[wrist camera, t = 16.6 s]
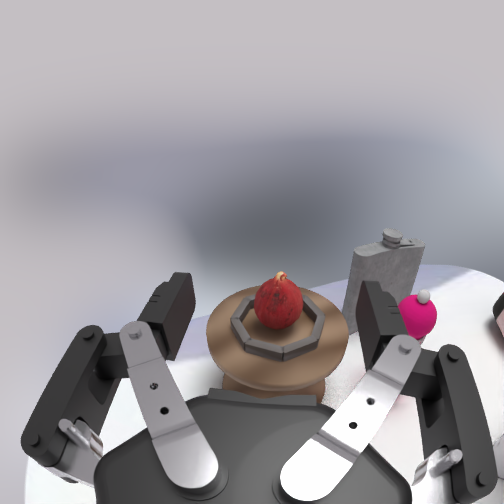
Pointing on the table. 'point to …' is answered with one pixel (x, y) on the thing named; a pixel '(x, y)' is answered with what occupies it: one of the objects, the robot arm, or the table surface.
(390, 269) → the hip flask
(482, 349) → the table surface
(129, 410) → the table surface
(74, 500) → the table surface
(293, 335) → the ring stand
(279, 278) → the onion
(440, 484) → the robot arm
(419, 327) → the pepper mill
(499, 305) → the packaged food
